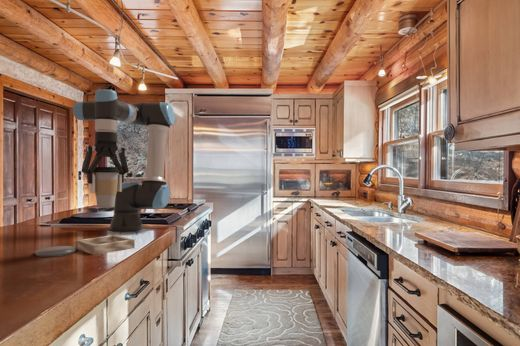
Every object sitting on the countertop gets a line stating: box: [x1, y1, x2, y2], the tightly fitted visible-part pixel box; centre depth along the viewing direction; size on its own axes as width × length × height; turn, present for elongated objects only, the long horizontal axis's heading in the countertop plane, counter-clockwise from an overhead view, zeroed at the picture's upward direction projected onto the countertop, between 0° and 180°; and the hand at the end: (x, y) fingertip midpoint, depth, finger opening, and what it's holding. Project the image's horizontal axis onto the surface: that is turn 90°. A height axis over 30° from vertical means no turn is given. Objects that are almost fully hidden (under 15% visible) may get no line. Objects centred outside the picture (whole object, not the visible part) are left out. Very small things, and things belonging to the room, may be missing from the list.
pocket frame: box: [75, 234, 136, 256], centre depth 129 cm, size 15×15×3 cm
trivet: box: [35, 245, 77, 258], centre depth 121 cm, size 12×12×1 cm
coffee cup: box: [93, 166, 120, 209], centre depth 129 cm, size 9×9×15 cm
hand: (106, 192), depth 129 cm, fingers closed on coffee cup, 9 cm apart
